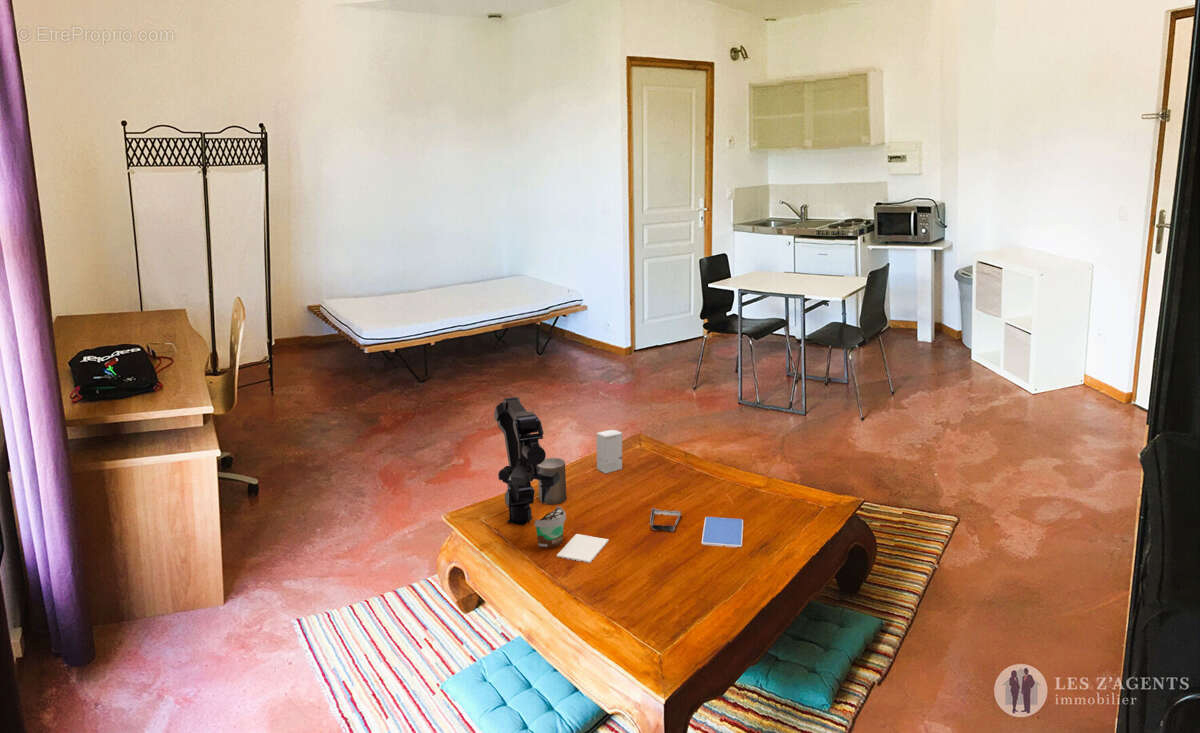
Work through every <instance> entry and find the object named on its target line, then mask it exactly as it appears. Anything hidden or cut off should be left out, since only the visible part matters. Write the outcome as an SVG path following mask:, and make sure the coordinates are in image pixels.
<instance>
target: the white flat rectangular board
mask: <svg viewBox="0 0 1200 733" xmlns="http://www.w3.org/2000/svg"><path fill="white" fill-rule="evenodd" d="M609 540H610V539H608V538H603V537H602V538H601V537H597V536H591V535H586V534H579V533H576V534H575V535H574V536H573V537H572V538H570V540H569V541H568V542H567V543H566V544H565V546H563V548H562V549H560V551H559V552H558V553H557V554H556V557H557V558H559V557H561V559H565V558H566V560H570V559H571V561H575V560H576V561H577V562H581V561H583V562H582V563H586V562H587V563H586V564H591V563H592V562H593V561H592V560H594V559H595V558H596V557H597V556H598V555H599V554H600V552H601V551H602V550H603V548H604V547H605V546H606V545H607V544H608V543H609V542H610V541H609ZM597 554H598V555H597Z"/></svg>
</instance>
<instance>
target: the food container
mask: <svg viewBox="0 0 1200 733" xmlns="http://www.w3.org/2000/svg"><path fill="white" fill-rule="evenodd" d="M566 520H567V515H566V512H565V510H564V509H563V508H562V507H561V506H558V505H556V507H555V509H554V510H552V511H551V512H548V513H546V514H545V515H544V516H543V517H542V518H540V519H537V518H536V519H535V522H534V527H535V529H536V538H537V545H538V546H537V547H540V548H539V549H542V548H552V549H554V548H553V547H556V548H558V547H560V546H561V545H562V544H563V543H562V542H564V524H565V521H566ZM560 544H561V545H560ZM559 545H560V546H559ZM557 546H558V547H557Z"/></svg>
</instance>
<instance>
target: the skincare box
mask: <svg viewBox="0 0 1200 733" xmlns="http://www.w3.org/2000/svg"><path fill="white" fill-rule="evenodd" d="M596 469H597V470H598V471H600V472H601V473H604V474H605V475H606V474H608V473H612V472H616V471H621V470H622V469H623V432H621V431H619V430H617V429H613V428H612V429H608V430H603V431H599V432H596Z"/></svg>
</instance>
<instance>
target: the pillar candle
mask: <svg viewBox="0 0 1200 733" xmlns="http://www.w3.org/2000/svg"><path fill="white" fill-rule="evenodd" d="M538 467H540V471H539V472H538V473H539V474H544V473H545V472H547V471H556V472H558V473H559V474H560V480H559V481H558V482H557V483H556V484H555V485H554V486H551V488H550V490H549V493H548V495H547V498H546V501H545V504H544V505H557V504H562V503H564V502H566V501H567V498H568V497H567V483H566V482H567V481H566V480H567V479H566V478H567V477H566V461H565V460H564V459H563V458H558V457H545V459H544V461H543V462H542V463H541V464H538ZM537 481H538V482H537V483H538V499H539V501H540V503H542V488H541V487H540V486H541V485H542V483H541V480H537Z"/></svg>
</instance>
